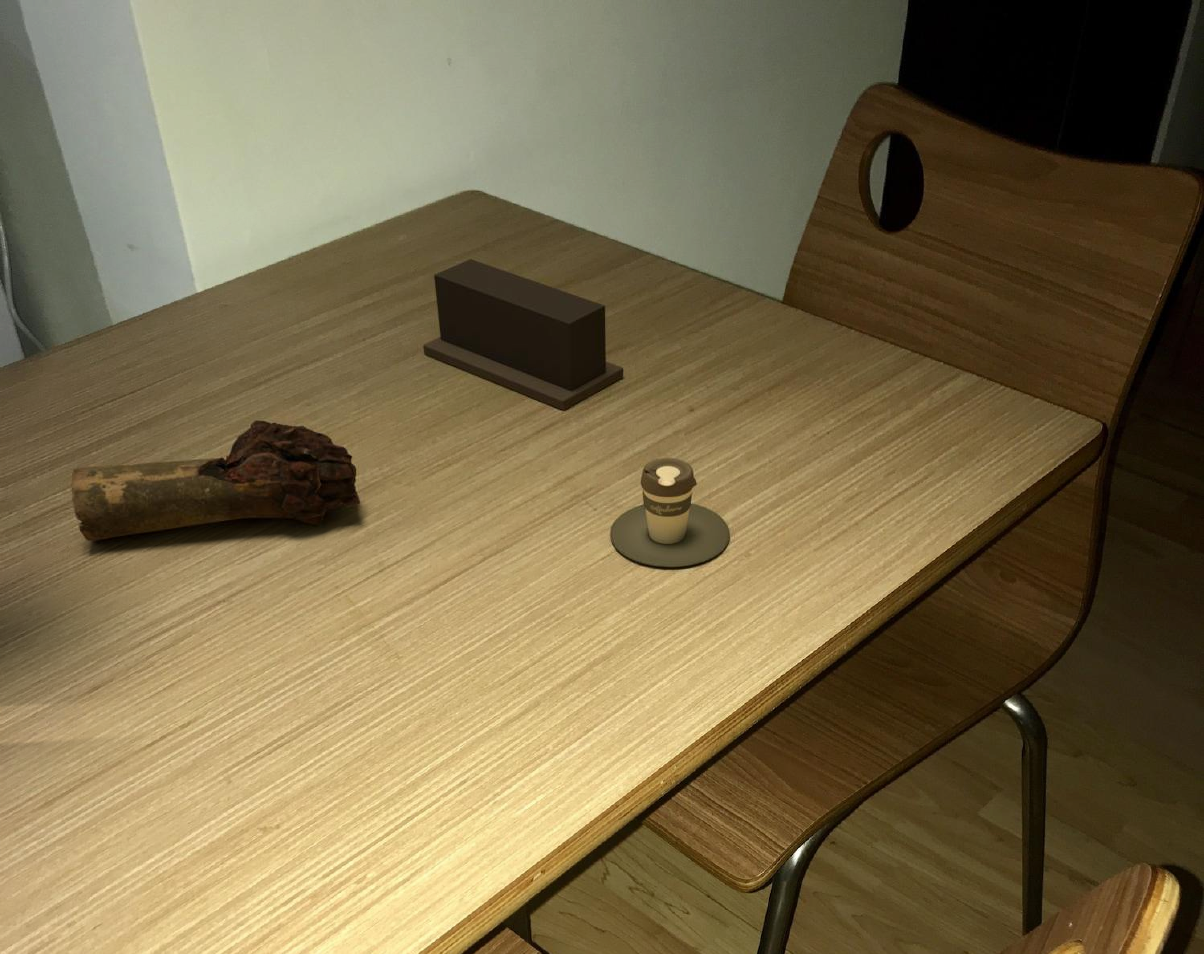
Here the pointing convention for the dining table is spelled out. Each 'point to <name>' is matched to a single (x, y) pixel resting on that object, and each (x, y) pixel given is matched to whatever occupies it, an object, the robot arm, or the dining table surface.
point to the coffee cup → (669, 521)
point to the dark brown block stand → (521, 334)
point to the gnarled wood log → (219, 485)
